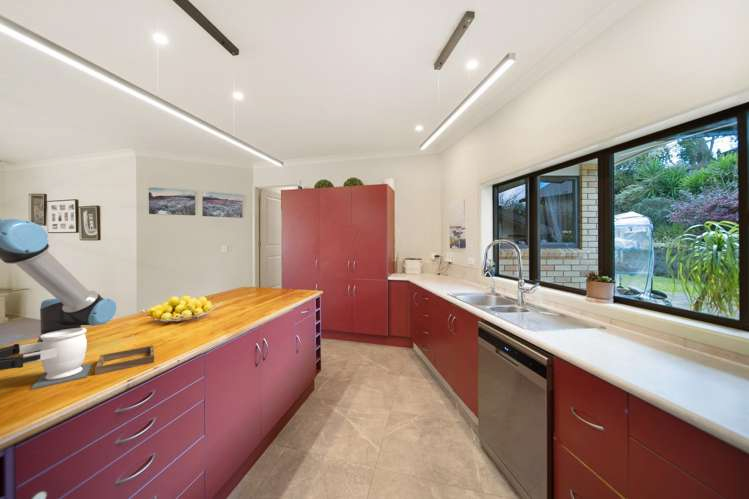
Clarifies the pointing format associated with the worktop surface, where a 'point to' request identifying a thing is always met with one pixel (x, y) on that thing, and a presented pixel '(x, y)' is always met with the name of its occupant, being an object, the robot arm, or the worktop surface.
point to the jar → (64, 352)
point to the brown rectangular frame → (125, 364)
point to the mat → (44, 382)
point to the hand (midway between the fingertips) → (53, 348)
